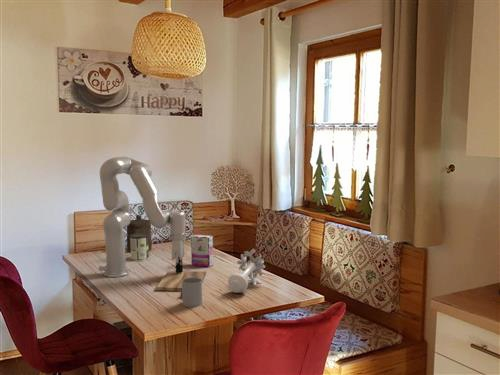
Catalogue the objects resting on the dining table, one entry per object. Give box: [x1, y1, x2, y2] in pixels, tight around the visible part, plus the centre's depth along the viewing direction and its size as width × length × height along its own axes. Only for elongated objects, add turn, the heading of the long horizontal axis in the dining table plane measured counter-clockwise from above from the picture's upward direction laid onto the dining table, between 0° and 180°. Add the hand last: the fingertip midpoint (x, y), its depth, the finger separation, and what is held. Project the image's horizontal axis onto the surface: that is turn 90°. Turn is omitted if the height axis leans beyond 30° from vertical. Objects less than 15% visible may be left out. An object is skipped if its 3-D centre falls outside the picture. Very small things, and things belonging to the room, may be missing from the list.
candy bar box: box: [190, 234, 214, 268], centre depth 282 cm, size 11×5×16 cm, turn 68°
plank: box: [156, 270, 186, 292], centre depth 252 cm, size 9×28×1 cm, turn 178°
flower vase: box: [227, 248, 266, 294], centre depth 241 cm, size 13×18×25 cm
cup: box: [181, 278, 203, 308], centre depth 220 cm, size 8×8×10 cm
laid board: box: [176, 270, 207, 292], centre depth 251 cm, size 10×28×2 cm, turn 178°
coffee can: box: [130, 233, 150, 262], centre depth 298 cm, size 10×10×14 cm
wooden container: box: [126, 214, 153, 253], centre depth 320 cm, size 15×15×22 cm
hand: (179, 272), depth 261 cm, fingers closed
